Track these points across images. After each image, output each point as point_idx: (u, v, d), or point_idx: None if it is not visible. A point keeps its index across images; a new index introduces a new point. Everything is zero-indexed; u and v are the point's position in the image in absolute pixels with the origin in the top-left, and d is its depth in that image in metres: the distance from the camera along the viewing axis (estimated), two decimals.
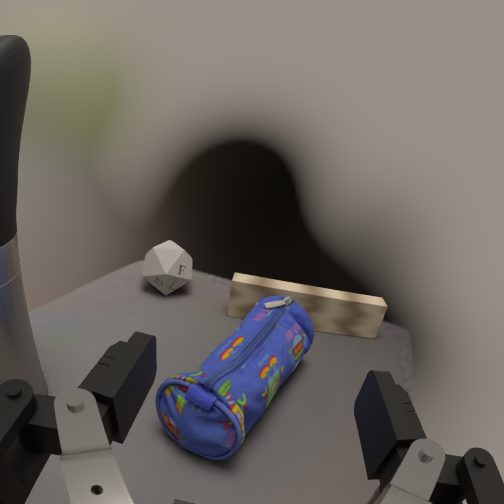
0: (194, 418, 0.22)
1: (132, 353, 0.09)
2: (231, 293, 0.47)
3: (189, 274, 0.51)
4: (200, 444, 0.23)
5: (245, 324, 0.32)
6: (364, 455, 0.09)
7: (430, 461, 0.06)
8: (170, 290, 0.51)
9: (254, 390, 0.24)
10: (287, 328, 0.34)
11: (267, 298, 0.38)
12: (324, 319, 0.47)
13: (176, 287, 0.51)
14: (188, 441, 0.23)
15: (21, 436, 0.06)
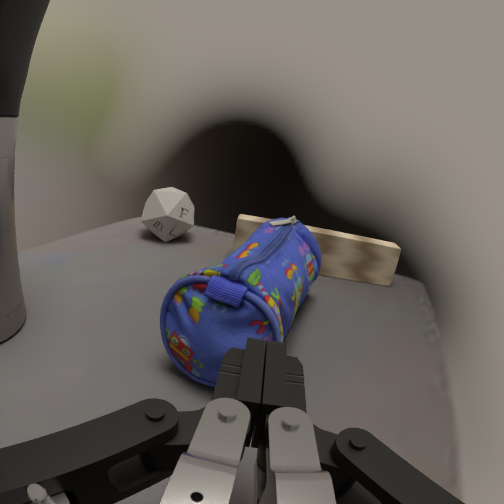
0: (216, 324, 0.19)
1: (255, 358, 0.10)
2: (236, 233, 0.44)
3: (191, 219, 0.48)
4: None
5: (255, 235, 0.29)
6: None
7: (289, 430, 0.07)
8: (170, 236, 0.48)
9: (285, 288, 0.21)
10: (298, 244, 0.31)
11: (269, 221, 0.35)
12: (336, 262, 0.44)
13: (177, 233, 0.48)
14: (207, 365, 0.19)
15: (142, 453, 0.07)
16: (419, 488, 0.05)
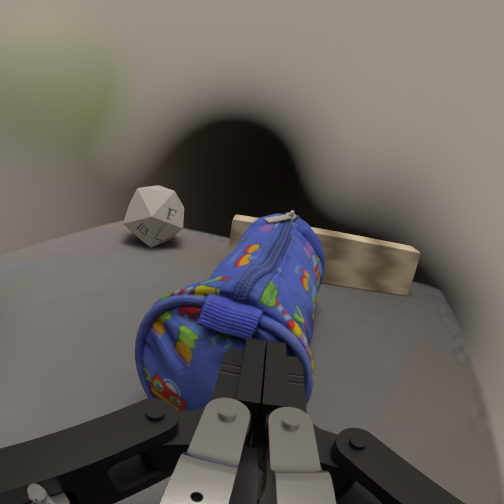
0: (218, 365, 0.12)
1: (255, 358, 0.10)
2: (231, 236, 0.38)
3: (180, 221, 0.42)
4: None
5: (251, 235, 0.23)
6: None
7: (289, 430, 0.07)
8: (156, 240, 0.41)
9: (306, 304, 0.15)
10: (302, 244, 0.26)
11: (263, 217, 0.29)
12: (347, 269, 0.38)
13: (164, 237, 0.41)
14: None
15: (142, 453, 0.07)
16: (419, 489, 0.05)
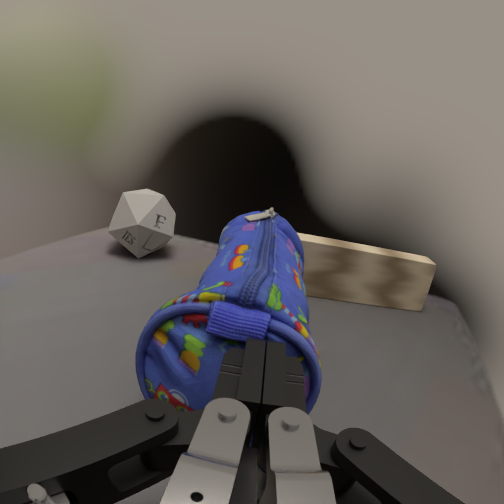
0: None
1: (255, 358, 0.10)
2: None
3: (170, 228, 0.37)
4: None
5: (236, 235, 0.23)
6: None
7: (289, 430, 0.07)
8: (144, 250, 0.37)
9: (304, 304, 0.16)
10: (284, 242, 0.26)
11: (242, 215, 0.29)
12: (357, 284, 0.34)
13: (152, 246, 0.37)
14: None
15: (143, 453, 0.07)
16: (419, 489, 0.05)
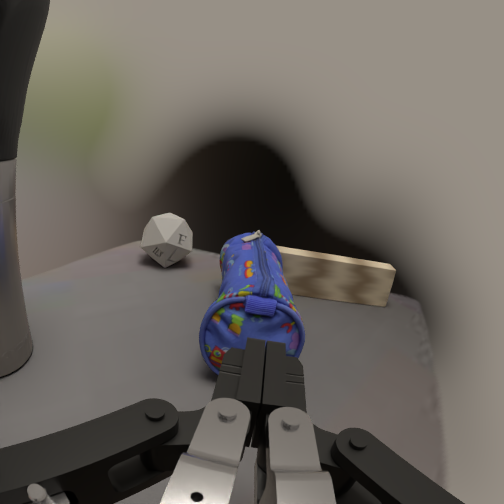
0: (256, 332, 0.24)
1: (255, 358, 0.10)
2: None
3: (189, 245, 0.49)
4: None
5: (240, 253, 0.34)
6: None
7: (289, 430, 0.07)
8: (169, 262, 0.49)
9: (290, 294, 0.28)
10: (270, 255, 0.38)
11: (237, 236, 0.41)
12: (332, 285, 0.45)
13: (176, 258, 0.49)
14: None
15: (142, 453, 0.07)
16: (419, 488, 0.05)
